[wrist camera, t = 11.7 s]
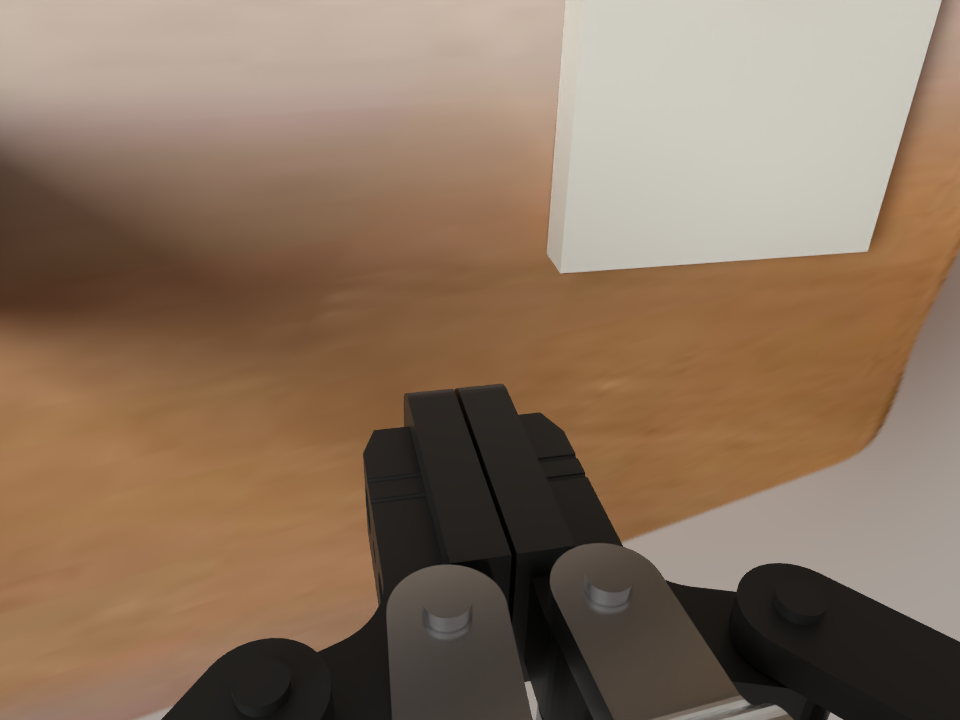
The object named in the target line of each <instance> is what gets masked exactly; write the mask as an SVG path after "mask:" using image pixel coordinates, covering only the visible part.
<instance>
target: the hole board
mask: <svg viewBox="0 0 960 720" xmlns="http://www.w3.org/2000/svg"><path fill="white" fill-rule="evenodd" d="M941 1H942V0H566V1H565V14H564V28H563V41H562V55H561V68H560V82H559V95H558V108H557V122H556V135H555V149H554V162H553V176H552V189H551V203H550V216H549V230H548V243H547V255H548V257H549V258H550V259H551V261H552V262H553V264H554V265H555V266H556V268H557V269H558V271H559V272H560V273H572V272H586V271H600V270H614V269H628V268H643V267H657V266H671V265H685V264H699V263H713V262H727V261H741V260H755V259H769V258H783V257H797V256H811V255H825V254H839V253H853V252H867V251H868V248H869V245H870V242H871V238H872V235H873V231H874V228H875V225H876V221H877V218H878V215H879V211H880V208H881V204H882V201H883V198H884V194H885V191H886V187H887V184H888V181H889V177H890V174H891V171H892V167H893V164H894V160H895V157H896V154H897V150H898V147H899V143H900V140H901V137H902V133H903V130H904V126H905V123H906V120H907V116H908V113H909V110H910V106H911V103H912V99H913V96H914V93H915V89H916V86H917V82H918V79H919V76H920V72H921V69H922V66H923V62H924V59H925V55H926V52H927V49H928V45H929V42H930V38H931V35H932V32H933V28H934V25H935V21H936V18H937V15H938V11H939V8H940V5H941Z"/></svg>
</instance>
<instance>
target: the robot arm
mask: <svg viewBox="0 0 960 720" xmlns="http://www.w3.org/2000/svg"><path fill="white" fill-rule="evenodd" d="M363 459H364V476H365V492H366V509H367V525H368V536H369V542H370V549H371V556H372V563H373V570H374V577H375V583H376V590H377V597H378V604H379V607H378V609H377V610H376V612H375V614H374V615H373V617H372V618H371V619H370V620H369V622H368V623H367V624H366V625H364V626H363V627H362V628H361V629H360V630H359V631H357V632H356V633H355V634H353V635H352V636H350V637H348V638H347V639H345V640H343V641H341V642H339V643H337V644H334V645H332V646H330V647H328V648H326V649H323V650H321V651H319V652H316V651H315V650H313V649H312V648H310V647H309V646H307V645H305V644H303V643H300V642H297V641H295V640H289V639H284V638H269V639H261V640H257V641H252V642H249V643H246V644H244V645H241V646H238V647H237V648H235V649H233V650H231V651H229V652H227V653H226V654H225V655H223V656H222V657H221V658H219V659H218V660H217V661H216V662H215V663H214V664H213V665H211V666H210V667H209V668H208V670H207V671H206V672H205V673H204V674H203V675H202V676H201V677H200V678H199V679H198V680H197V681H196V683H195V684H194V685H193V686H192V687H191V688H190V689H189V690H188V691H187V692H186V693H185V695H184V696H183V697H182V698H181V699H180V700H179V701H178V702H177V703H176V704H175V705H174V706H173V708H172V709H171V710H170V711H169V712H168V713H167V714H166V715H165V716H164V717H163V718H162V719H161V720H533V719H532V715H531V711H530V706H529V701H528V697H527V692H526V688H525V683H524V682H527V681H531V684H532V687H533V690H534V693H535V697H536V700H537V703H538V705H537V715H536V720H827V719H828V717H829V714H830V712H831V713H833V714H835V715H837V716H838V717H840V718H842V719H843V720H960V642H959V641H957V640H955V639H953V638H951V637H949V636H946V635H945V634H942V633H940V632H938V631H936V630H934V629H932V628H930V627H928V626H926V625H924V624H922V623H920V622H918V621H916V620H914V619H912V618H910V617H907V616H906V615H904V614H902V613H900V612H897V611H895V610H893V609H891V608H889V607H887V606H885V605H883V604H881V603H879V602H877V601H875V600H873V599H871V598H869V597H867V596H865V595H863V594H861V593H859V592H857V591H855V590H853V589H851V588H849V587H846V586H844V585H842V584H840V583H838V582H836V581H834V580H832V579H830V578H828V577H826V576H824V575H822V574H820V573H818V572H815V571H813V570H811V569H808V568H804V567H801V566H797V565H792V564H782V563H775V564H766V565H761V566H758V567H756V568H753V569H752V570H750V571H749V572H747V573H746V574H745V575H744V577H743V578H742V579H741V581H740V582H739V585H738V589H737V592H733V591H724V590H715V589H707V588H698V587H690V586H684V585H679V584H676V583H672V582H669V581H667V580H665V579H664V578H663V576H662V575H661V573H660V572H659V571H658V569H657V568H656V567H655V566H654V565H653V564H652V563H651V562H650V561H649V560H648V559H646V558H645V557H643V556H642V555H640V554H639V553H637V552H635V551H633V550H630V549H628V548H625V547H623V545H622V543H621V541H620V539H619V537H618V536H617V534H616V532H615V530H614V528H613V526H612V524H611V522H610V520H609V518H608V516H607V514H606V512H605V510H604V508H603V506H602V505H601V503H600V501H599V499H598V497H597V495H596V493H595V491H594V489H593V487H592V485H591V483H590V481H589V479H588V477H585V472H584V470H583V468H582V466H581V464H580V462H579V460H578V458H576V457H575V452H574V450H573V448H572V446H571V444H570V443H569V441H568V439H567V437H566V435H565V433H564V431H563V430H562V429H560V428H559V427H558V426H557V425H555V424H554V423H553V422H552V421H550V420H549V419H548V418H546V417H545V416H544V415H543V414H541V413H531V414H522V415H518V414H517V411H516V409H515V407H514V405H513V403H512V400H511V398H510V396H509V394H508V391H507V389H506V387H505V386H504V385H503V384H495V385H485V386H475V387H465V388H456V389H455V391H454V390H453V389H446V390H436V391H426V392H416V393H406V394H405V395H404V427H401V428H392V429H382V430H374V432H373V434H372V436H371V438H370V440H369V442H368V444H367V446H366V449H365V451H364V453H363Z"/></svg>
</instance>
